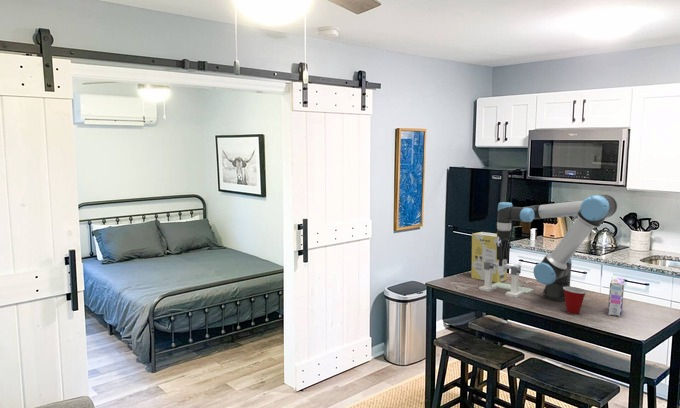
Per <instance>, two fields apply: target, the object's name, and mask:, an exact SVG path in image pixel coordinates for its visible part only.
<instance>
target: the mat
mask: <svg viewBox="0 0 680 408" xmlns="http://www.w3.org/2000/svg"><path fill="white" fill-rule="evenodd" d="M492 285H495V286H497V289H502V290H507V291H511V283H506V282H498V283H496V282H493V283H492ZM519 291H524V294H525V295H526V294H527V295H528V294H529V293H531V292H533V291H535V289H534V288H530V287H524V286H520V285H519Z"/></svg>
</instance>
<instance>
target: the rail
mask: <svg viewBox="0 0 680 408" xmlns="http://www.w3.org/2000/svg"><path fill="white" fill-rule="evenodd" d="M485 262H488V263H490V266H495V267H499V262H497V261H491V260H486V261H485ZM511 267H516V268H517V270H518V271H520V270H522V265H520V264H515V263H508V262H507V263H504V268H506V269H507V270H508V269H509V270H511Z"/></svg>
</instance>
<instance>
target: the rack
mask: <svg viewBox="0 0 680 408" xmlns="http://www.w3.org/2000/svg"><path fill="white" fill-rule="evenodd" d="M491 268H492V269H493V268H494V266H490V263H488V262H484V269H485V280H484V285H481V286H479V287H478V290H479V291H483V292H487V293H488V292H492V291H494V290H496V289H498V288H497V286H495V285H492V284H493V282H492V269H491ZM521 270H522V269H521ZM521 270H520V271H518V270H517V268H516V267H511V269H510V275H511V280H510V281H511V283H510V285H511V290H508V291H507V292H505V295H504V296H506V297H511V298H518V297H521V296H523V295H524V294H525V293H524V291H519V286H520V274H521V272H522V271H521Z"/></svg>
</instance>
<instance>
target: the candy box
mask: <svg viewBox="0 0 680 408" xmlns="http://www.w3.org/2000/svg"><path fill="white" fill-rule="evenodd" d="M624 290H625V278H622V277H621V278H620V277H615V276H614V277H611V280H610V284H609V293H608V294H609V295H608V307H607V308H608V309H607V315H608V316H615V317H619V318H620V317H622V312H623V304H624V292H625V291H624Z"/></svg>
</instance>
